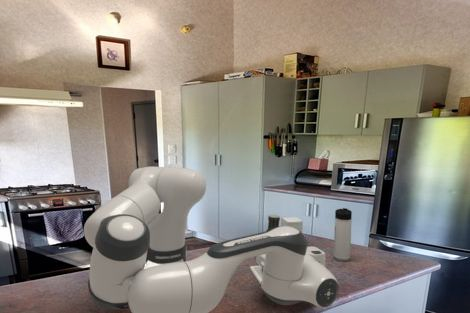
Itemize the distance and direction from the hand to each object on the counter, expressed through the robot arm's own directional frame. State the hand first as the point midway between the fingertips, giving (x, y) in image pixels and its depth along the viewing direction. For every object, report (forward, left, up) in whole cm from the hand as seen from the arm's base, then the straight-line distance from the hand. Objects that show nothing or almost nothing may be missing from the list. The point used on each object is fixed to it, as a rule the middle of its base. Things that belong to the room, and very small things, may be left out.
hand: (279, 248), depth 99 cm
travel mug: (+33, +14, -12) cm, 37 cm away
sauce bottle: (-1, +7, -11) cm, 13 cm away
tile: (0, +7, -12) cm, 14 cm away
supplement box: (+18, +30, -12) cm, 36 cm away
